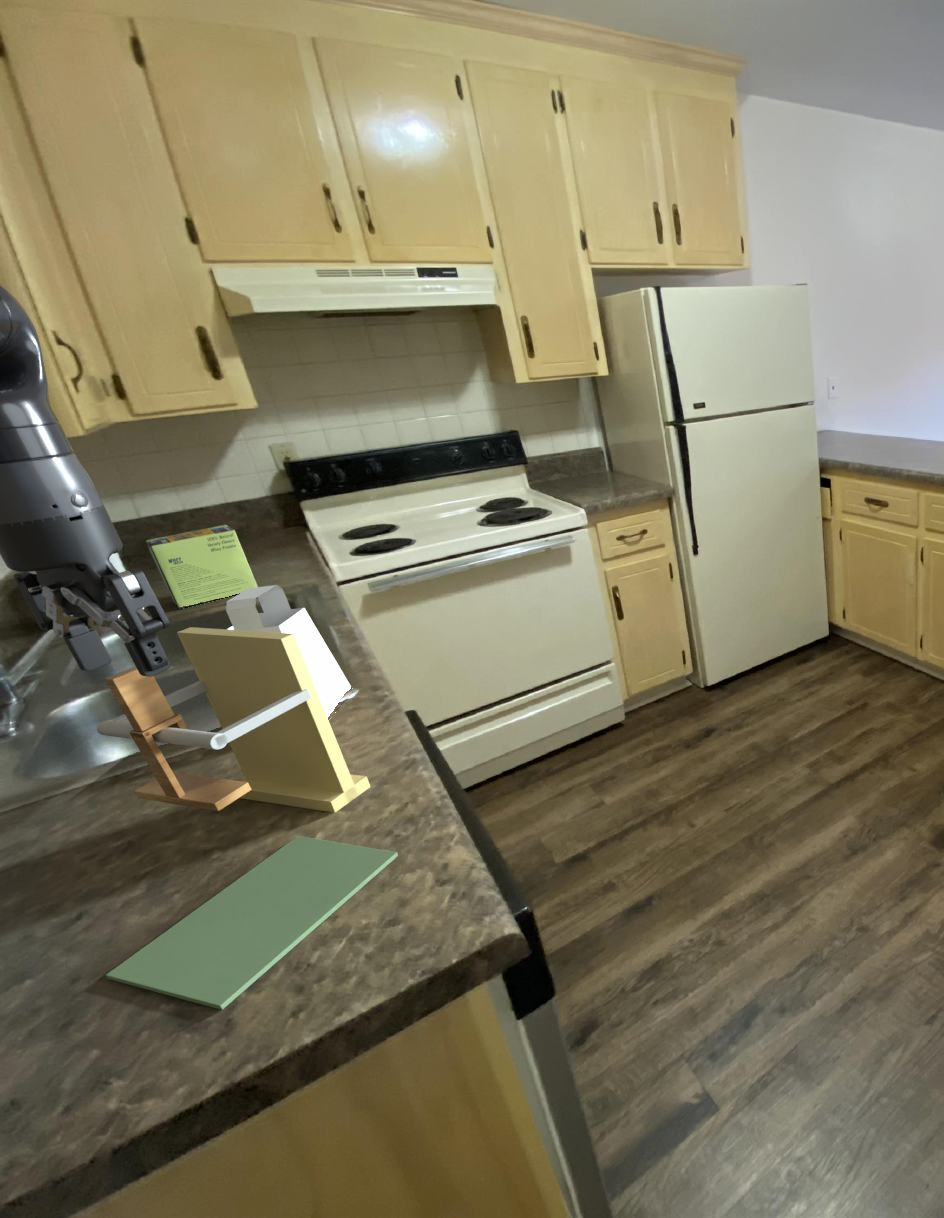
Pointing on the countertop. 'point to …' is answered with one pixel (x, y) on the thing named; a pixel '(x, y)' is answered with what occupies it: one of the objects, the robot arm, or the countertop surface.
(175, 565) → the protein box
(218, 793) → the phone stand
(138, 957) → the mat
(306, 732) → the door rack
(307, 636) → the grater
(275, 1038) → the countertop surface
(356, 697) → the countertop surface
